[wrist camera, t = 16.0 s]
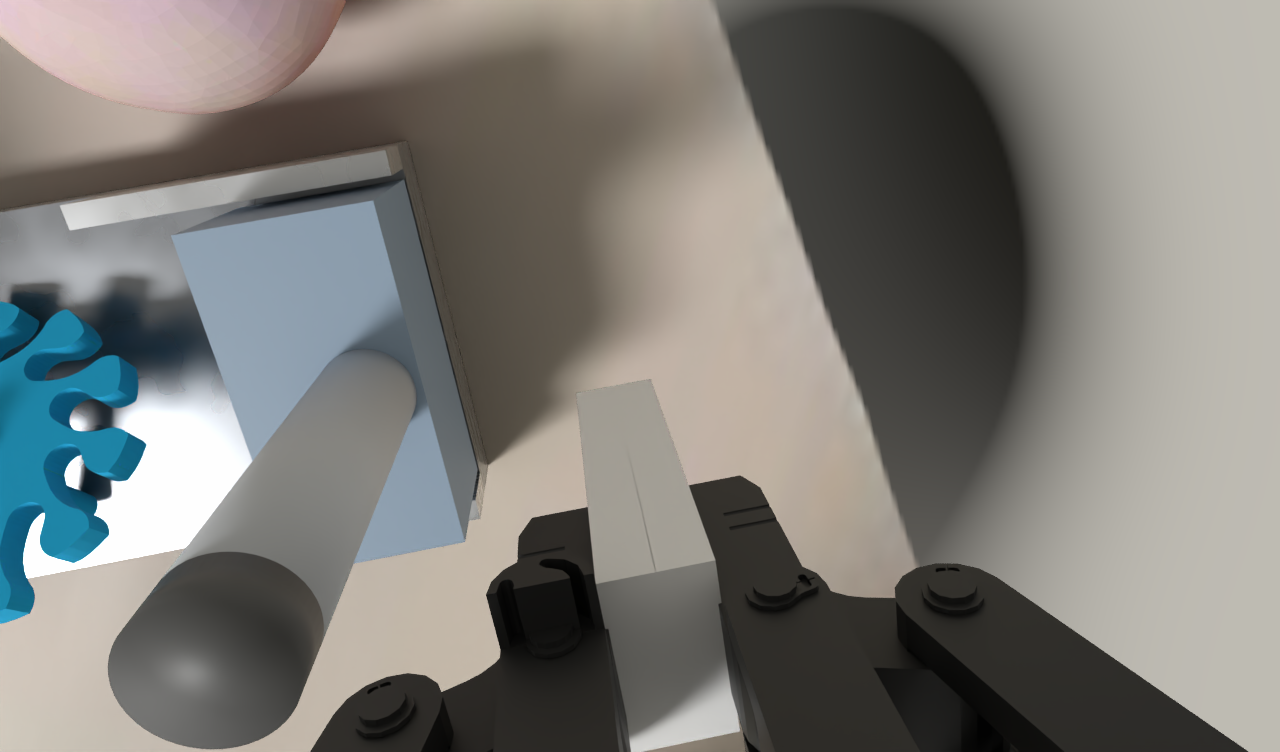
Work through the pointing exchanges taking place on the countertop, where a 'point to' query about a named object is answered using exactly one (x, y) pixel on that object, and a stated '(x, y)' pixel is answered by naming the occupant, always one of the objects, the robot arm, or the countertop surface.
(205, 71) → the decorative fruit
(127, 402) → the gear
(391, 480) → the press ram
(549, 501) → the countertop surface
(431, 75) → the countertop surface
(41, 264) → the frame
